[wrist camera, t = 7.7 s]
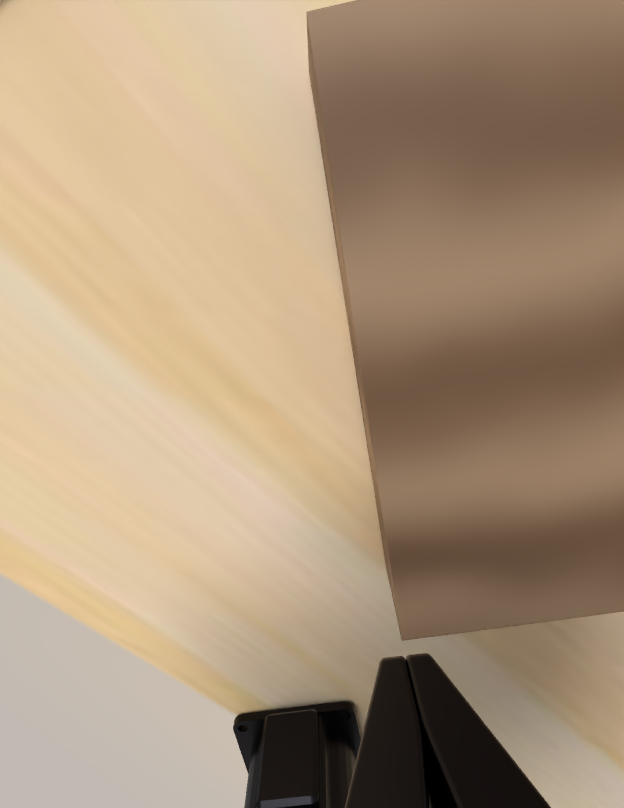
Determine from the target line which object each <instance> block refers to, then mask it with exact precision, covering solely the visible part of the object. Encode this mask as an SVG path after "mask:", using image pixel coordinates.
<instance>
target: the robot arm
mask: <svg viewBox="0 0 624 808" xmlns="http://www.w3.org/2000/svg"><path fill="white" fill-rule="evenodd" d="M233 730H234V733H235V735H236V739H237V742H238V745H239V748H240V751H241V754H242V756H243V759H244V762H245V765H246V768H247V771H248V774H249V775H248V783H247V791H246V800H245V807H244V808H551V807H550V806H549V804H548V803H547V802H546V801H545V799H544V798H543V797H542V796H541V794H540V793H539V792H538V791H537V789H536V788H535V787H534V785H533V784H532V783H531V782H530V780H529V779H528V778H527V777H526V775H525V774H524V773H523V772H522V770H521V769H520V768H519V767H518V765H517V764H516V763H515V761H514V760H513V759H512V758H511V756H510V755H509V754H508V753H507V751H506V750H505V749H504V748H503V746H502V745H501V744H500V742H499V741H498V740H497V739H496V737H495V736H494V735H493V734H492V732H491V731H490V730H489V729H488V727H487V726H486V725H485V724H484V722H483V721H482V720H481V718H480V717H479V716H478V715H477V713H476V712H475V711H474V710H473V708H472V707H471V706H470V705H469V703H468V702H467V701H466V700H465V698H464V697H463V696H462V694H461V693H460V692H459V691H458V689H457V688H456V687H455V686H454V684H453V683H452V682H451V681H450V679H449V678H448V677H447V675H446V674H445V673H444V672H443V670H442V669H441V668H440V667H439V665H438V664H437V663H436V662H435V660H434V659H433V658H432V657H431V656H430V655H429V654H425V653H424V654H415V655H408V656H407V657H406V661H405V659H404V657H402V656H396V657H387V658H383V659H381V661H380V664H379V668H378V672H377V676H376V680H375V685H374V689H373V693H372V697H371V701H370V705H369V709H368V713H367V718H366V722H365V726H364V730H363V734H362V738H361V734H360V729H359V724H358V719H357V714H356V710H355V706H354V705H353V704H352V703H350V702H338V703H330V704H322V705H314V706H306V707H298V708H290V709H282V710H274V711H266V712H258V713H249V714H242V715H238V716H237V717H236V718H235V720H234V726H233ZM429 804H430V806H429Z"/></svg>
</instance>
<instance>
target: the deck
mask: <svg viewBox="0 0 624 808" xmlns="http://www.w3.org/2000/svg"><path fill="white" fill-rule="evenodd" d="M307 34H308V58H309V74H310V80H311V87H312V93H313V99H314V106H315V112H316V119H317V125H318V132H319V138H320V144H321V151H322V157H323V164H324V170H325V177H326V183H327V189H328V196H329V202H330V209H331V215H332V221H333V228H334V234H335V241H336V247H337V254H338V260H339V266H340V273H341V279H342V286H343V292H344V299H345V305H346V311H347V318H348V324H349V331H350V337H351V344H352V350H353V356H354V363H355V369H356V376H357V382H358V389H359V395H360V401H361V408H362V414H363V421H364V427H365V434H366V440H367V446H368V453H369V459H370V466H371V472H372V478H373V485H374V491H375V498H376V504H377V511H378V517H379V523H380V530H381V536H382V543H383V549H384V556H385V562H386V568H387V574H388V578H389V583H390V587H391V592H392V597H393V601H394V606H395V611H396V615H397V620H398V625H399V629H400V634H401V638H402V641H403V640H410V639H418V638H425V637H433V636H440V635H448V634H456V633H463V632H471V631H478V630H486V629H493V628H501V627H509V626H516V625H524V624H531V623H539V622H546V621H554V620H562V619H569V618H577V617H584V616H592V615H600V614H607V613H615V612H622V611H624V0H356V1H352V2H347V3H343V4H339V5H334V6H330V7H325V8H321V9H317V10H312V11H308V12H307Z"/></svg>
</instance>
